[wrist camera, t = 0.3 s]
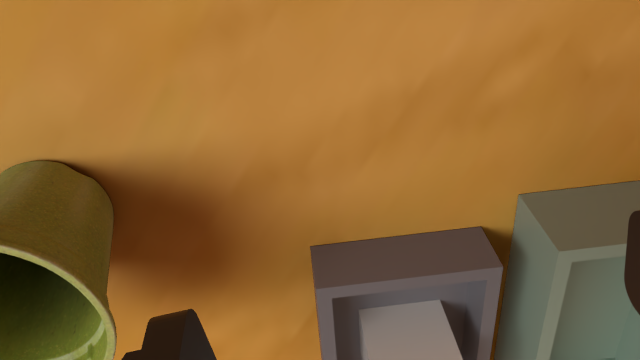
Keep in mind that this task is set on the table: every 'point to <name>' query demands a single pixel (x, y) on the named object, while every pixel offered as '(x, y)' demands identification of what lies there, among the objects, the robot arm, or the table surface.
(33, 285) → the plant pot
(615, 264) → the sage green bin
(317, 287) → the charcoal tub
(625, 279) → the robot arm
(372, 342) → the pale pink block
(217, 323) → the table surface
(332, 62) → the table surface
